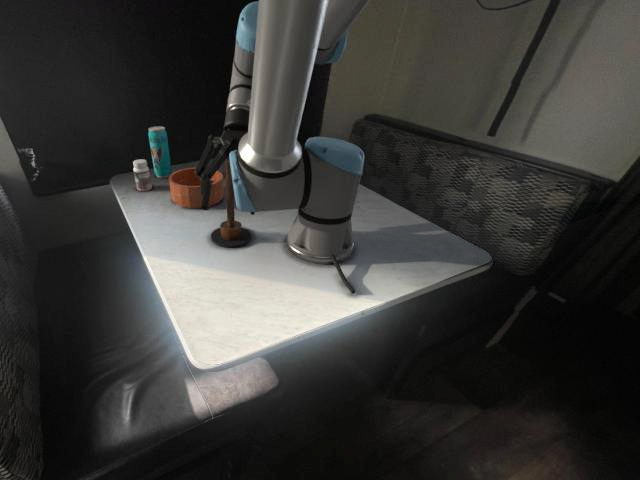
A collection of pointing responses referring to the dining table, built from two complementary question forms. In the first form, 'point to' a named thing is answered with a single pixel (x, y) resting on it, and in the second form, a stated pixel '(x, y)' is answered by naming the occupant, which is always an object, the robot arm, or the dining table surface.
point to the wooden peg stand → (230, 210)
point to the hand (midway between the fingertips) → (227, 210)
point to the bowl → (194, 188)
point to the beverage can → (160, 151)
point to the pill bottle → (142, 175)
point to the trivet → (222, 242)
